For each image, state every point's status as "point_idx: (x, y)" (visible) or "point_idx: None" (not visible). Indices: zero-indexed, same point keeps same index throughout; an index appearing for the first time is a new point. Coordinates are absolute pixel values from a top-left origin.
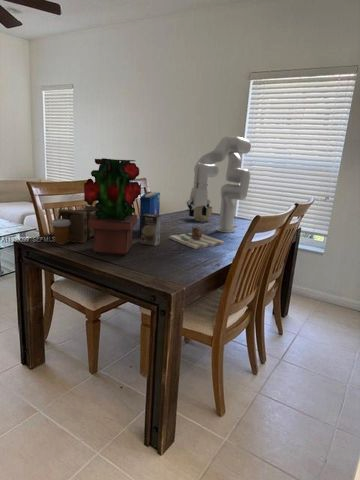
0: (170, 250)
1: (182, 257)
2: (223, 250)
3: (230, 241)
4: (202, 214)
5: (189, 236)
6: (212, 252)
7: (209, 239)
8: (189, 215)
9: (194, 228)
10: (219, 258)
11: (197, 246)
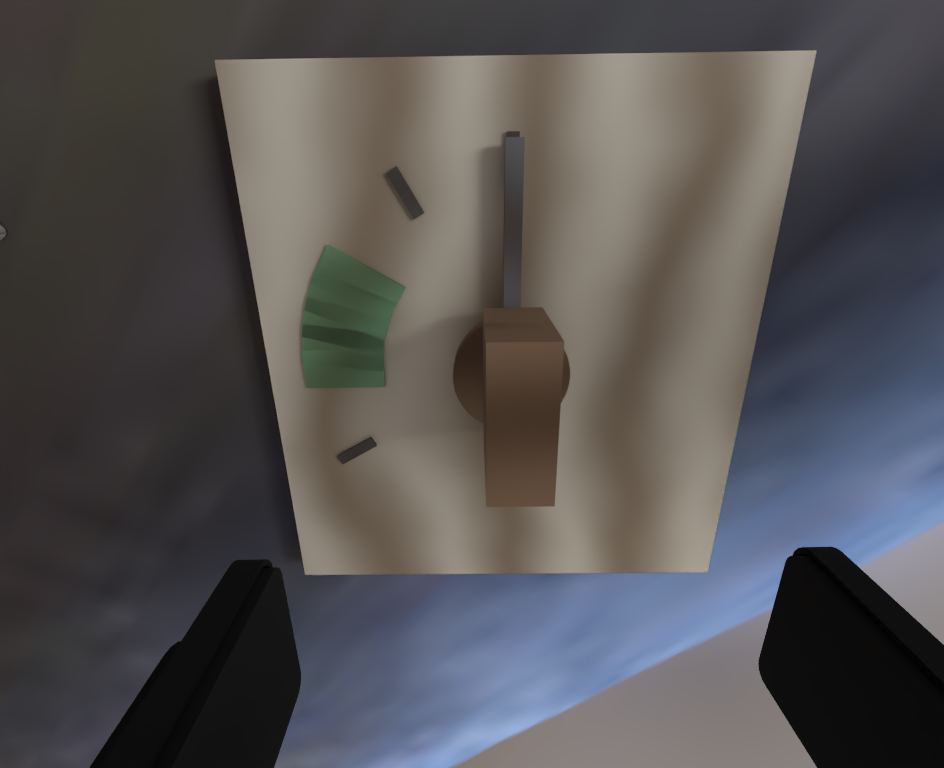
0: (53, 501)
1: (90, 662)
2: (522, 669)
3: (847, 517)
4: (792, 593)
5: (500, 232)
6: (396, 669)
7: (631, 457)
8: (238, 577)
9: (485, 399)
10: (350, 761)
11: (334, 570)
